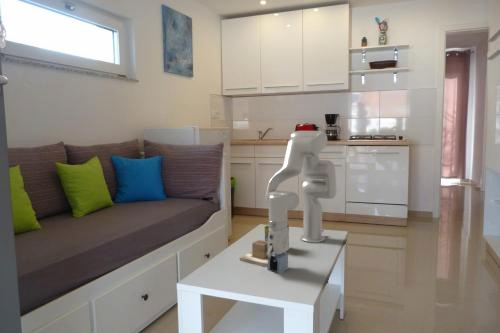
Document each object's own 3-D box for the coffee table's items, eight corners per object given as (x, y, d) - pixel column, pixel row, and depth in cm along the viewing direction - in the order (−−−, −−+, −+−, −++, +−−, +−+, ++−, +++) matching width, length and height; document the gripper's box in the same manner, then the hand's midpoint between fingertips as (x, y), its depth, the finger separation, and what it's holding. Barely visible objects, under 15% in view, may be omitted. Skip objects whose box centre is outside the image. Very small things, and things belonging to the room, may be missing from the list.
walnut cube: (260, 252, 167) (260, 239, 167) (271, 255, 164) (271, 242, 163) (252, 256, 163) (252, 243, 162) (263, 259, 159) (263, 245, 159)
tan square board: (257, 252, 173) (257, 248, 173) (283, 257, 165) (283, 254, 165) (239, 260, 162) (239, 257, 162) (266, 267, 154) (266, 263, 153)
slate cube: (275, 265, 156) (275, 251, 155) (287, 268, 152) (288, 254, 152) (267, 269, 151) (267, 255, 150) (280, 272, 147) (280, 258, 147)
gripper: (274, 230, 141) (274, 276, 142) (296, 221, 155) (296, 263, 156) (258, 227, 145) (258, 272, 147) (280, 219, 159) (280, 260, 161)
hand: (277, 267), depth 151 cm, fingers closed on slate cube, 6 cm apart
